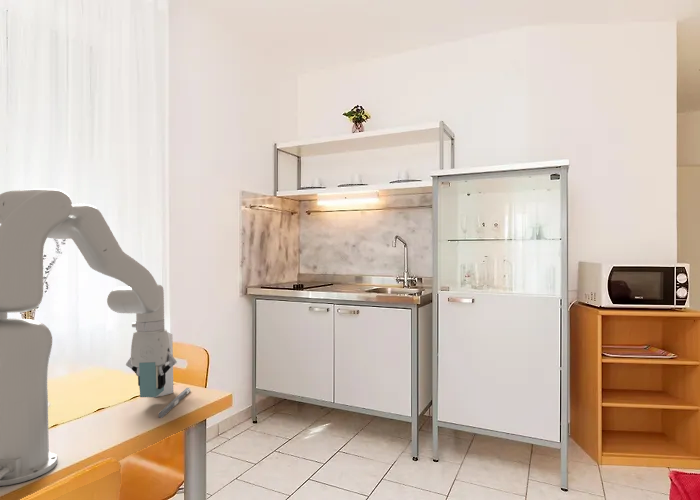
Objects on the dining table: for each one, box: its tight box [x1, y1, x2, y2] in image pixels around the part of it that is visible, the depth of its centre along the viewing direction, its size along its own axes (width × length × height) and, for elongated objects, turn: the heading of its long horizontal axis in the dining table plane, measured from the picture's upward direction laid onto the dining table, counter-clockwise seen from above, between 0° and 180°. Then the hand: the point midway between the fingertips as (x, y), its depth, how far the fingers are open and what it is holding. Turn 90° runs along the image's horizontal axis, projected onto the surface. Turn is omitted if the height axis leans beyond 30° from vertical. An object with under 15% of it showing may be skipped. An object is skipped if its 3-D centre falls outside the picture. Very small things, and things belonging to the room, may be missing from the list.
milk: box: [155, 331, 174, 398], centre depth 141 cm, size 6×6×22 cm
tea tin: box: [139, 362, 164, 398], centre depth 130 cm, size 6×5×10 cm
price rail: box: [158, 387, 191, 418], centre depth 131 cm, size 22×1×1 cm, turn 1°
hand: (152, 387), depth 130 cm, fingers closed on tea tin, 4 cm apart
